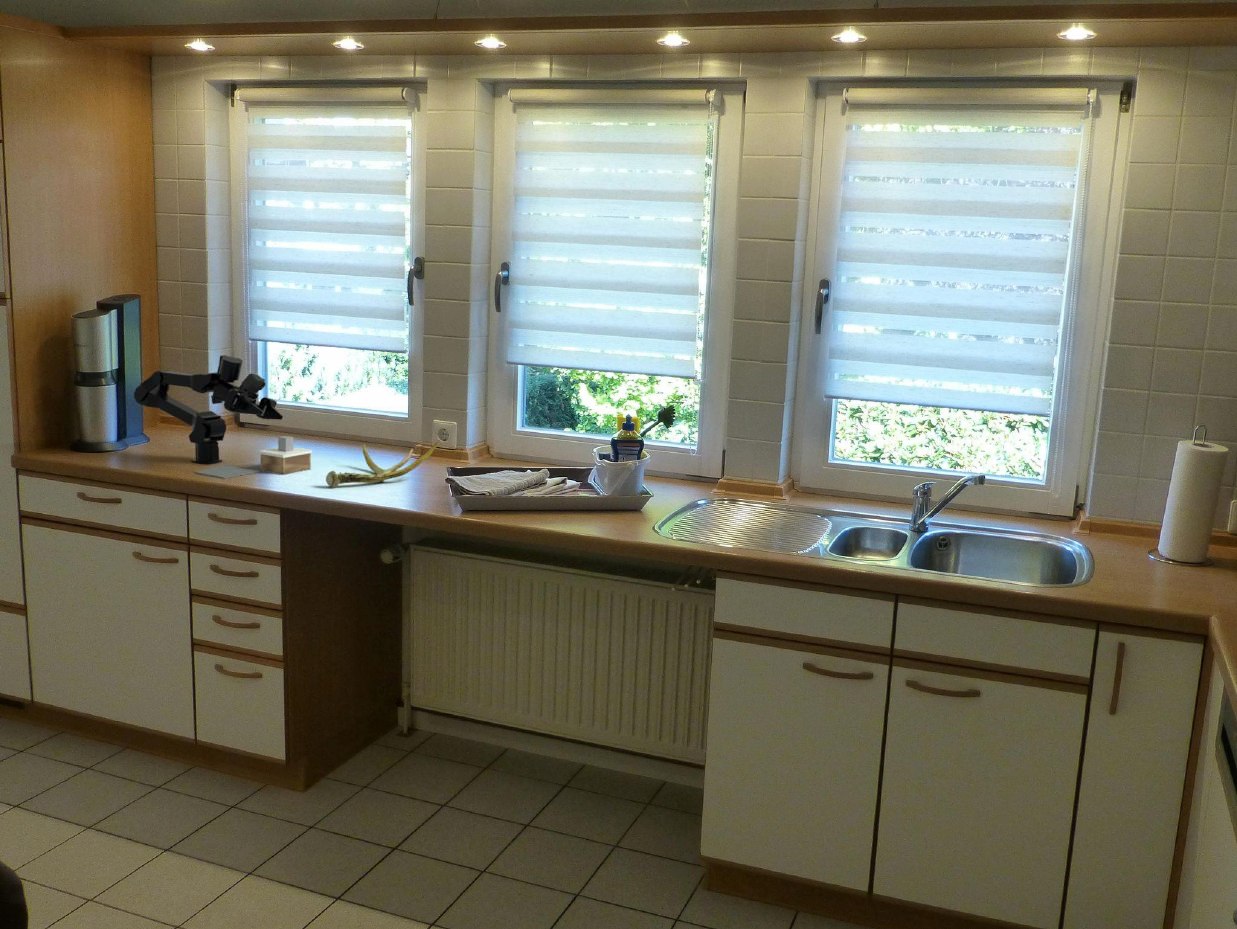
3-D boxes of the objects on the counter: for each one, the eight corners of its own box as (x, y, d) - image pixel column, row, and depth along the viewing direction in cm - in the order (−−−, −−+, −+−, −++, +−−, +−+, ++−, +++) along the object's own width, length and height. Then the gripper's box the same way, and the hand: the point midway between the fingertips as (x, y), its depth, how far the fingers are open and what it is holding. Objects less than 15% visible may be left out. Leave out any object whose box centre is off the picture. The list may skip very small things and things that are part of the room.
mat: (194, 472, 311) (194, 471, 311) (229, 466, 323) (229, 465, 323) (224, 478, 306) (224, 477, 306) (259, 472, 317) (259, 470, 317)
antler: (323, 496, 302) (319, 463, 300) (366, 467, 333) (362, 436, 330) (417, 495, 298) (413, 461, 296) (451, 465, 329) (447, 434, 326)
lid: (259, 453, 319) (258, 437, 318) (288, 448, 329) (288, 433, 328) (283, 457, 314) (283, 441, 313) (312, 452, 324) (312, 436, 323)
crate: (260, 470, 320) (260, 453, 319) (288, 465, 329) (288, 448, 328) (283, 474, 316) (283, 457, 315) (310, 469, 325) (310, 452, 324)
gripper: (222, 364, 310) (263, 384, 305) (263, 376, 328) (302, 395, 323) (206, 399, 311) (247, 420, 305) (248, 409, 328) (287, 429, 323)
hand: (272, 415), depth 314 cm, fingers open, 9 cm apart
